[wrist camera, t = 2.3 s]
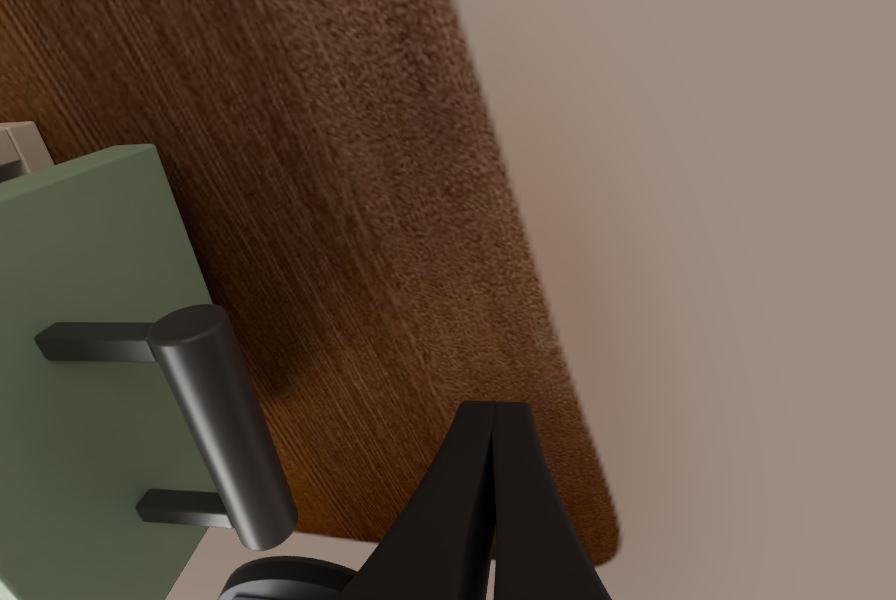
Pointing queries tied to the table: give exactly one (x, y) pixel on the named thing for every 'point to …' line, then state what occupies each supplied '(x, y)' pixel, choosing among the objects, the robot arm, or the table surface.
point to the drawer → (119, 391)
